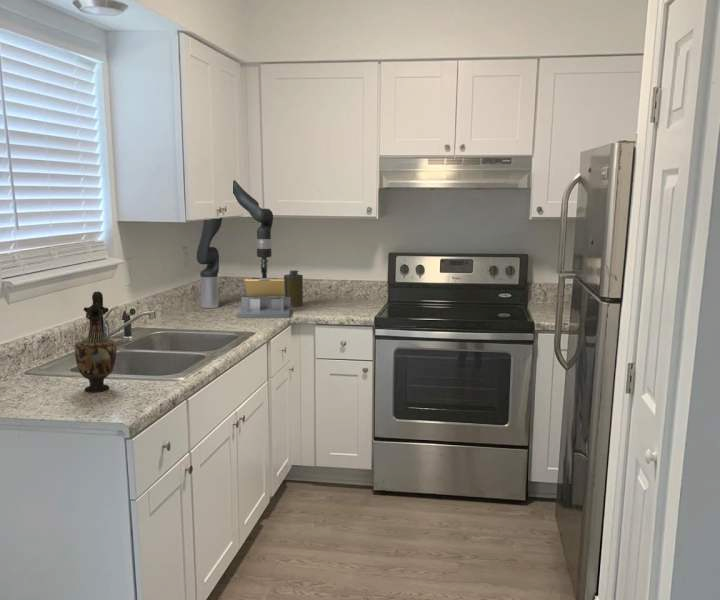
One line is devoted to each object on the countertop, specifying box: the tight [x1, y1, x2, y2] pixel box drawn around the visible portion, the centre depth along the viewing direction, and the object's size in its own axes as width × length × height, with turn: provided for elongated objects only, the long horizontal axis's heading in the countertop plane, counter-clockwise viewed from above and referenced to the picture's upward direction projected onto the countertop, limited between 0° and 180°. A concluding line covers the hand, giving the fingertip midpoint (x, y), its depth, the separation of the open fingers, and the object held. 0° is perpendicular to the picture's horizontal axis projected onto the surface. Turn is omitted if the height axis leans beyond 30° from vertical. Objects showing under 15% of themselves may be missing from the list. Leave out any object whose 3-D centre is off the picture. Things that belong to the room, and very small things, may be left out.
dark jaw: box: [271, 298, 281, 311], centre depth 319 cm, size 5×5×6 cm
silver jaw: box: [250, 298, 261, 311], centre depth 318 cm, size 5×5×6 cm
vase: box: [74, 291, 118, 393], centre depth 186 cm, size 12×12×30 cm
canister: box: [283, 270, 304, 308], centre depth 343 cm, size 11×10×20 cm
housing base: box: [236, 296, 292, 319], centre depth 316 cm, size 20×26×9 cm
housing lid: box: [244, 278, 285, 297], centre depth 319 cm, size 14×20×1 cm
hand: (264, 280), depth 316 cm, fingers closed
